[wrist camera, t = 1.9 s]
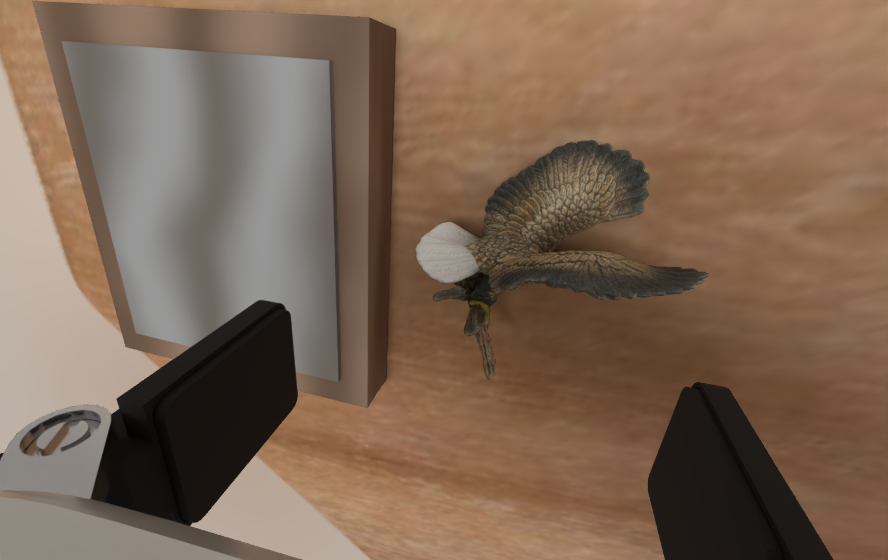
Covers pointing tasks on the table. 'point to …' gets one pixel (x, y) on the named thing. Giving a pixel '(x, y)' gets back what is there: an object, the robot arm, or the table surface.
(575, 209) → the eagle figurine
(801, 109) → the table surface
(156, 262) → the picture frame
